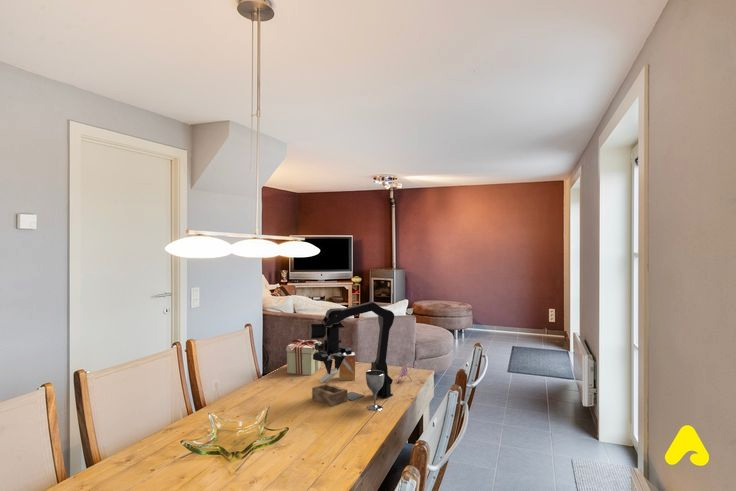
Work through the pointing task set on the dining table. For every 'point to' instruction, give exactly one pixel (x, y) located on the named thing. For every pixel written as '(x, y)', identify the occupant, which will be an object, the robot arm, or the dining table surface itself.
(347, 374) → the small box
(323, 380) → the block
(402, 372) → the lily
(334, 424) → the dining table surface
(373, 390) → the wine glass
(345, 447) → the dining table surface
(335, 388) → the rectangular frame
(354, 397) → the mat
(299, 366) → the gift box
